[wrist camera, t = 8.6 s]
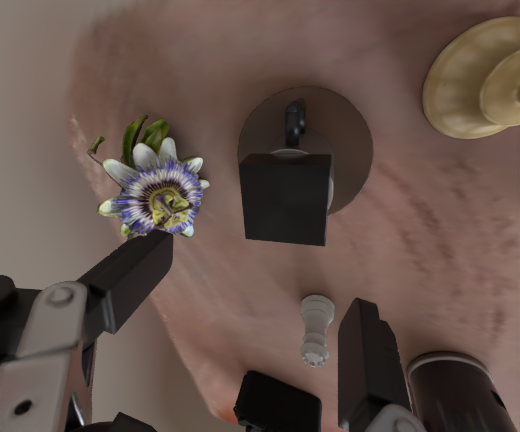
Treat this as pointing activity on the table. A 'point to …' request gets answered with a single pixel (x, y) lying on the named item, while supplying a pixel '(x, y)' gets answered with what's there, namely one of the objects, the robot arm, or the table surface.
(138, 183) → the passion flower
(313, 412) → the film camera
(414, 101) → the table surface
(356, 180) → the disc
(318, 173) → the black-lidded handled container
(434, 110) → the hand bell
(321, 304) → the rook chess piece
